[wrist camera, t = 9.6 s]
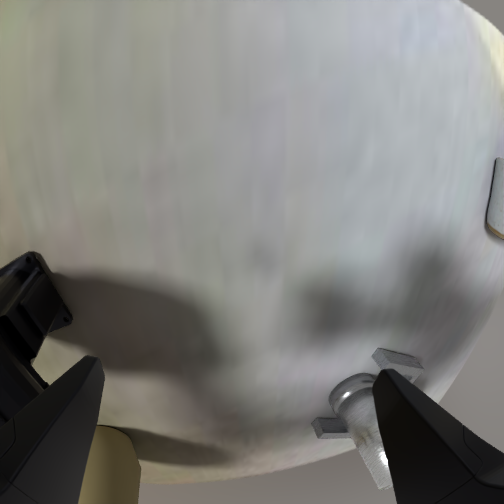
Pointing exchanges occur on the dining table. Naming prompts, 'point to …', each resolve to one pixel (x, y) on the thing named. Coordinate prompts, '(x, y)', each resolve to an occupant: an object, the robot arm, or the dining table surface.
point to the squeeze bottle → (111, 470)
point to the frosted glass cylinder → (362, 423)
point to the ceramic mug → (497, 201)
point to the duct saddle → (384, 360)
